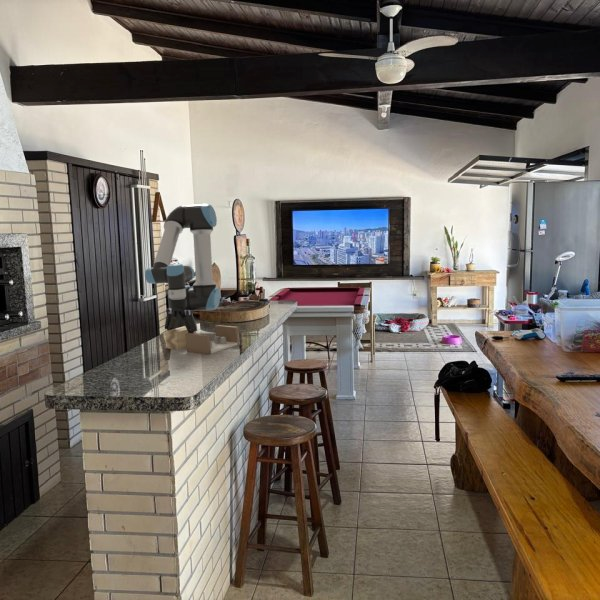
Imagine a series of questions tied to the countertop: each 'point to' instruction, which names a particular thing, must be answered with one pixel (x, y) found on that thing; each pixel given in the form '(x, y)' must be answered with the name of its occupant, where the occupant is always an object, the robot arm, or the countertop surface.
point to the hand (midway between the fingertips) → (181, 345)
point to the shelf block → (176, 338)
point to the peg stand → (222, 340)
